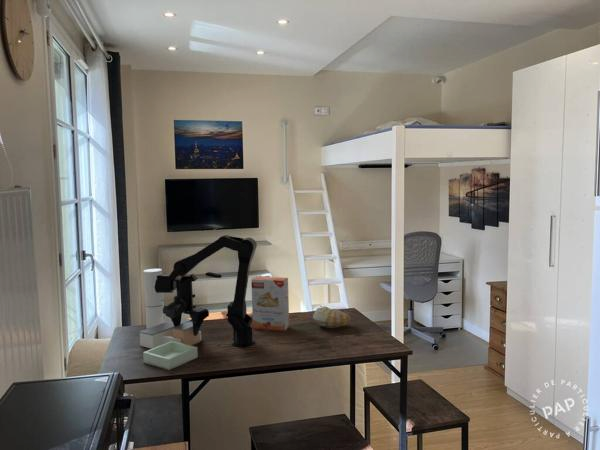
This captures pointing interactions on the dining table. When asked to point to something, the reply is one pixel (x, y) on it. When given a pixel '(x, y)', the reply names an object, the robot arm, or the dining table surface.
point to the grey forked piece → (160, 334)
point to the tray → (170, 355)
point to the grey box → (186, 334)
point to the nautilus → (330, 317)
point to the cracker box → (270, 303)
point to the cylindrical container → (153, 299)
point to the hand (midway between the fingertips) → (186, 333)
